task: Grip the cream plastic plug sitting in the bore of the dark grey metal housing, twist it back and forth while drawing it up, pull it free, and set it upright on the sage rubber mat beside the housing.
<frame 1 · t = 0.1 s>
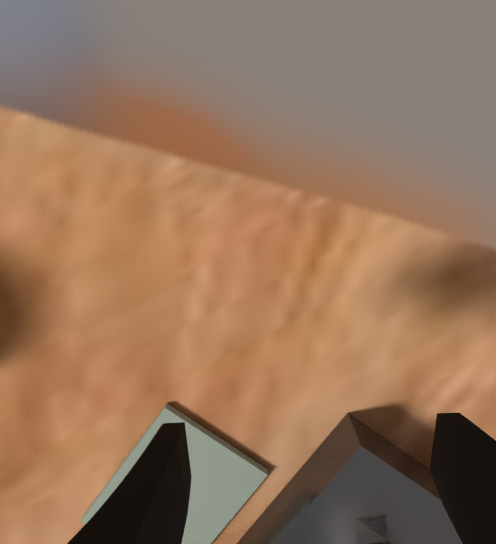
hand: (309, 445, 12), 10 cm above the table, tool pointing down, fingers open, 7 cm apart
housing: (364, 541, 25), on the table
mat: (174, 492, 24), on the table
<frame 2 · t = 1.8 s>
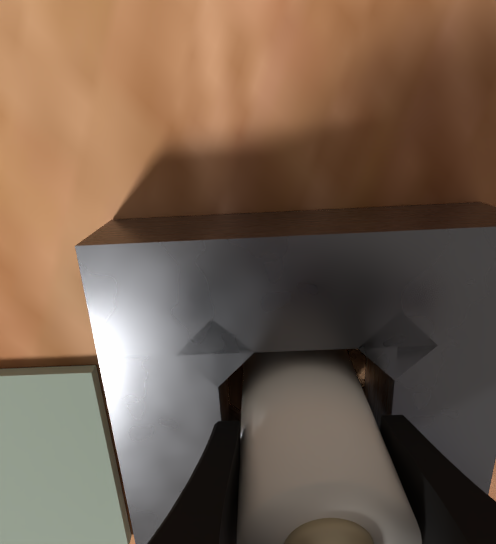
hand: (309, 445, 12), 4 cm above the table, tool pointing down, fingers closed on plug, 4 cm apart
housing: (296, 368, 15), on the table
plug: (308, 438, 12), in the housing, touching gripper
mat: (32, 461, 17), on the table
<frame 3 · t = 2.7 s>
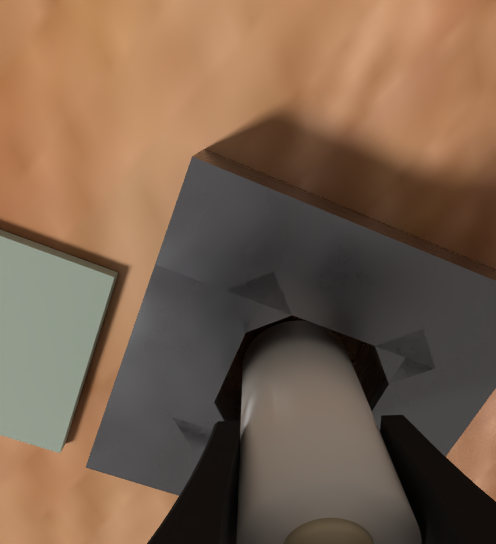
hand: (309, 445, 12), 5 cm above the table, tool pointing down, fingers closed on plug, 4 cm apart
housing: (292, 347, 17), on the table
plug: (308, 438, 12), point 5 cm above the table, touching gripper
mat: (5, 338, 17), on the table
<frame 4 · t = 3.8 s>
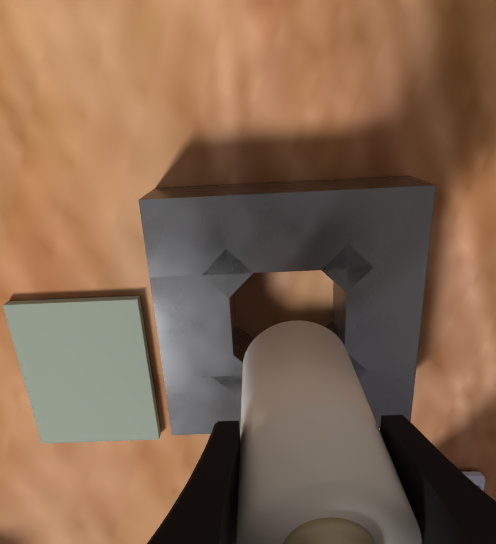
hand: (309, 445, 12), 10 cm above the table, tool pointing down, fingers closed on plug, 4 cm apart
housing: (283, 298, 22), on the table
plug: (308, 438, 12), point 10 cm above the table, touching gripper
mat: (89, 371, 23), on the table
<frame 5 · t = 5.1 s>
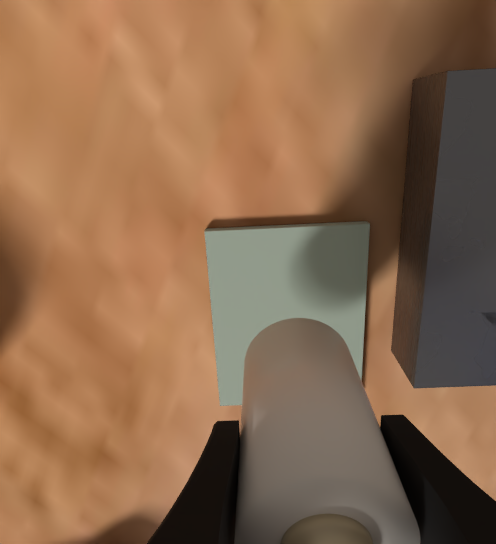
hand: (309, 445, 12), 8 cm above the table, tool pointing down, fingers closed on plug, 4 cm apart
plug: (308, 435, 12), point 8 cm above the table, touching gripper
mat: (287, 317, 19), on the table
when the fingers open (6 cm above the table, at t = 5.9 s): plug drops 1 cm, resting on mat.
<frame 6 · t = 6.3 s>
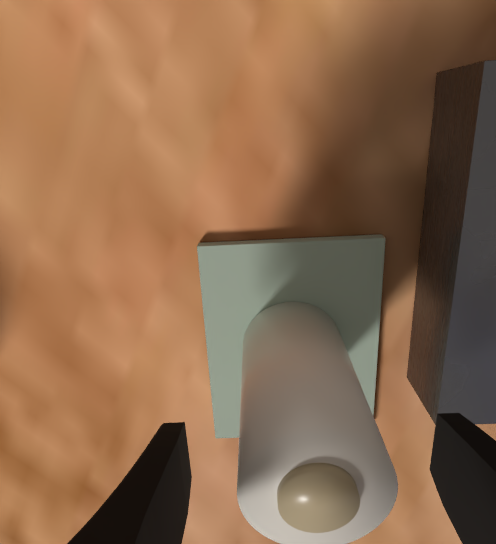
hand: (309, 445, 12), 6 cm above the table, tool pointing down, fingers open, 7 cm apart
plug: (301, 404, 13), on the mat
mat: (291, 341, 17), on the table
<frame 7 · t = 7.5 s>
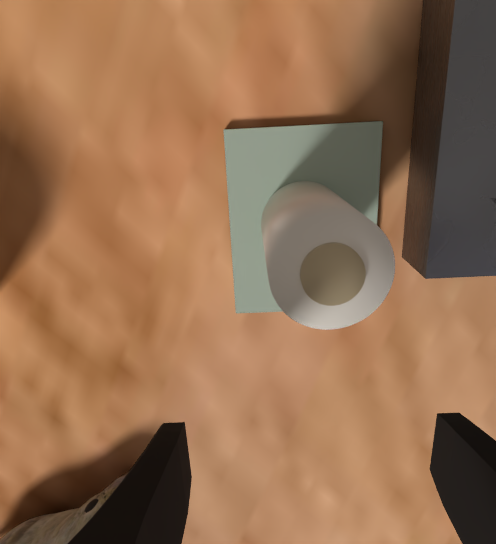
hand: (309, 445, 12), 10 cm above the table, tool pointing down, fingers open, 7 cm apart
plug: (314, 244, 16), on the mat
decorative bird: (57, 521, 28), on the table
mat: (302, 222, 20), on the table
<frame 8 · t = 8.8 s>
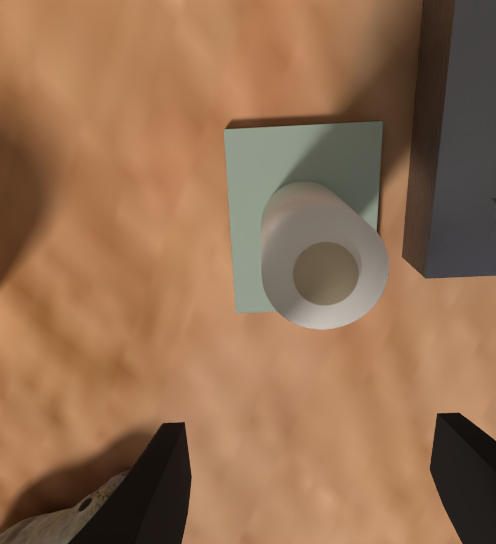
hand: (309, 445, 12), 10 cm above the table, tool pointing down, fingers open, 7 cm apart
plug: (312, 244, 16), on the mat
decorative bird: (53, 521, 28), on the table
mat: (302, 222, 20), on the table
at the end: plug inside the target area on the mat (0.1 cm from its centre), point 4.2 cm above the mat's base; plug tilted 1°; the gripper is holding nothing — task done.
